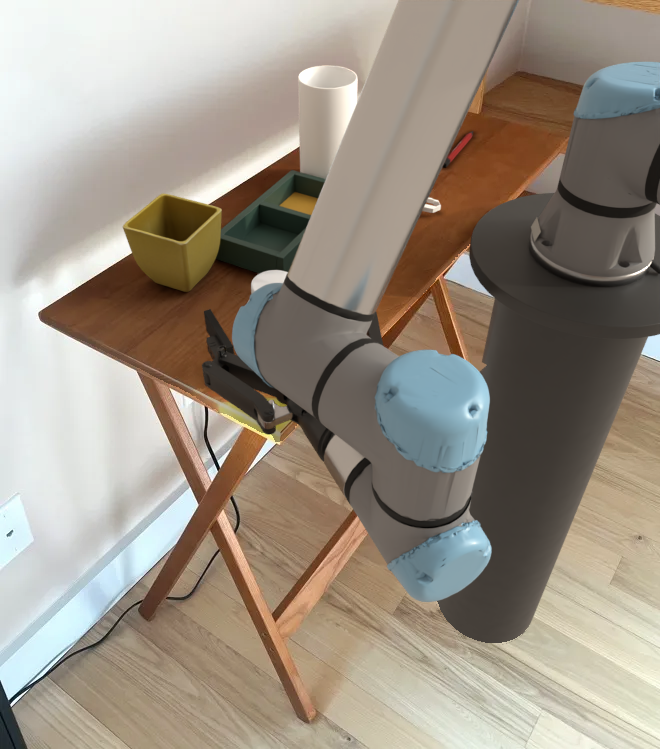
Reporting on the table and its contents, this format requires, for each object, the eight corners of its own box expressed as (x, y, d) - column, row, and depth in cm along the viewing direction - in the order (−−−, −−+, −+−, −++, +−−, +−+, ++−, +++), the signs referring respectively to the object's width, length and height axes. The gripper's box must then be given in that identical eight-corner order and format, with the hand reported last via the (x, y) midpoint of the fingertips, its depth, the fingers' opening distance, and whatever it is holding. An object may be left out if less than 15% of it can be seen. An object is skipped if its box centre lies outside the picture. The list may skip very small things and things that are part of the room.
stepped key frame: (446, 202, 106) (447, 192, 104) (437, 219, 102) (438, 208, 101) (363, 185, 109) (363, 175, 108) (351, 201, 106) (352, 190, 104)
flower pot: (230, 268, 93) (223, 207, 87) (194, 306, 88) (184, 243, 81) (172, 252, 96) (162, 191, 90) (134, 288, 90) (120, 226, 84)
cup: (315, 164, 114) (314, 61, 103) (363, 176, 111) (367, 71, 100) (290, 188, 108) (287, 81, 97) (340, 201, 106) (341, 93, 95)
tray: (355, 209, 104) (355, 187, 102) (284, 281, 91) (282, 258, 89) (292, 191, 108) (291, 169, 105) (215, 259, 95) (212, 235, 92)
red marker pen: (475, 134, 122) (476, 128, 122) (446, 168, 113) (446, 163, 113) (470, 133, 123) (471, 127, 122) (440, 167, 114) (441, 161, 113)
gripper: (235, 515, 62) (160, 362, 76) (465, 423, 70) (359, 300, 84) (227, 459, 57) (148, 307, 71) (476, 367, 65) (361, 246, 79)
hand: (262, 303), depth 78 cm, fingers open, 12 cm apart
